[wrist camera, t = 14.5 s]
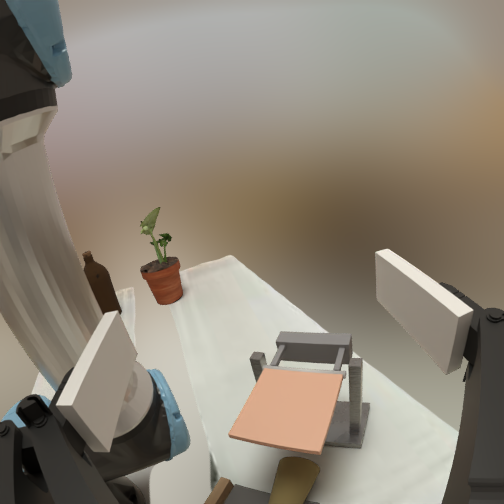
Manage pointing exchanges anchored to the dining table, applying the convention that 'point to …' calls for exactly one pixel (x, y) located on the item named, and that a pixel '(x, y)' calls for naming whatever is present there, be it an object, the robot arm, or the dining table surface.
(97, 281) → the olive oil
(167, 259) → the potted plant
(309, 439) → the drop flap
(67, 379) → the robot arm
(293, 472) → the cork
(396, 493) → the dining table surface
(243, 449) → the dining table surface
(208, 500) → the wooden picture frame
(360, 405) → the flap stand
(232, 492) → the mat
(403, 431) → the dining table surface
